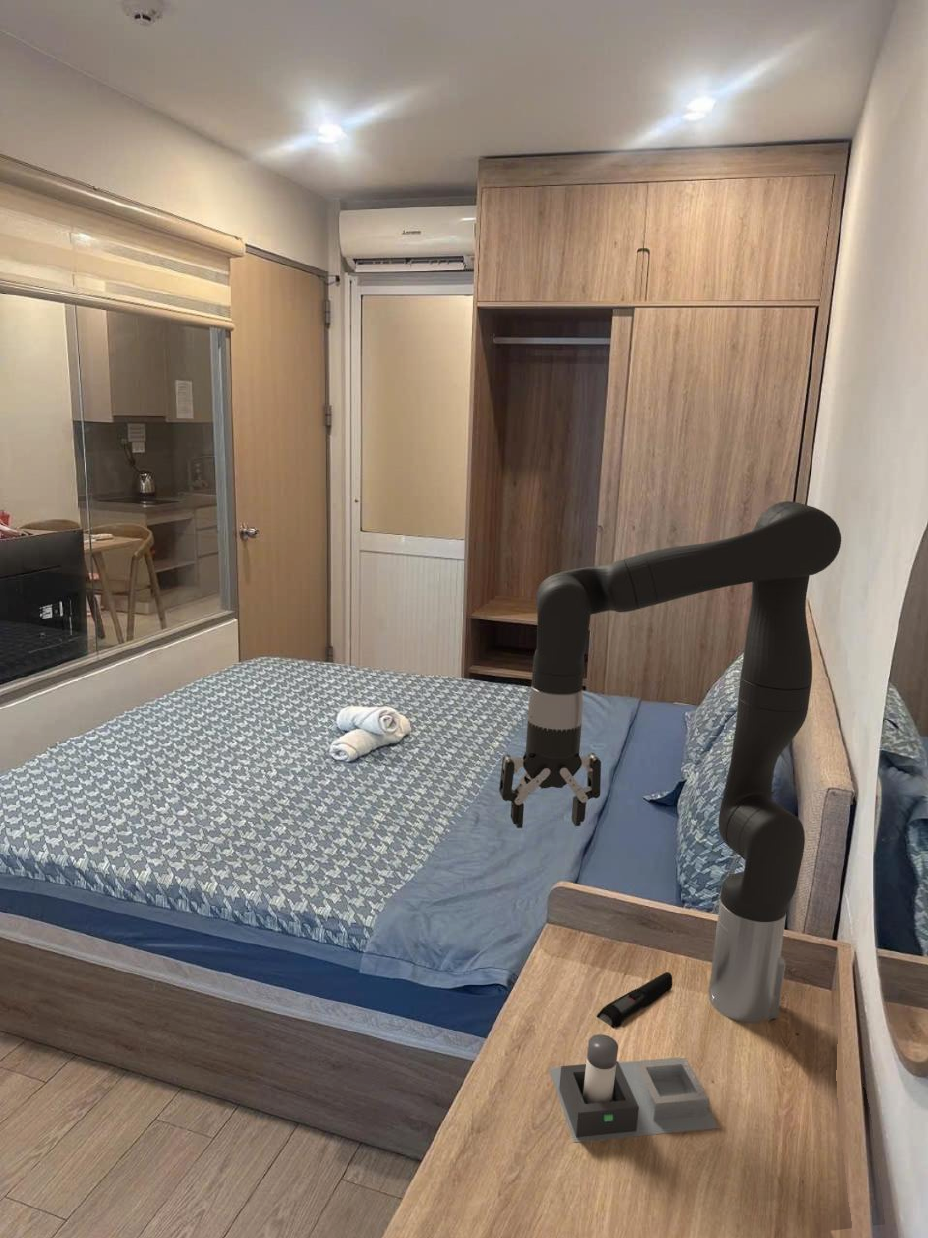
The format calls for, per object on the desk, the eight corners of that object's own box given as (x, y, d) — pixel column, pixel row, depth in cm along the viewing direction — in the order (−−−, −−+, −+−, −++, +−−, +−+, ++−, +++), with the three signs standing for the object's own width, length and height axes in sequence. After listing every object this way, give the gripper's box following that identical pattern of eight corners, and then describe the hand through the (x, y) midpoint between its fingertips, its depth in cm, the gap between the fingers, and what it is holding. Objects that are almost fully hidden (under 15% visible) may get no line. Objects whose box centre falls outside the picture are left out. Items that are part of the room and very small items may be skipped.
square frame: (684, 1074, 114) (685, 1058, 114) (706, 1115, 108) (708, 1098, 107) (633, 1078, 113) (635, 1062, 113) (653, 1120, 107) (655, 1103, 106)
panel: (679, 1063, 118) (679, 1057, 117) (718, 1134, 106) (719, 1128, 106) (548, 1075, 115) (548, 1068, 114) (573, 1149, 103) (574, 1142, 103)
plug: (605, 1097, 110) (612, 1033, 108) (614, 1120, 106) (622, 1054, 104) (578, 1099, 109) (584, 1035, 107) (586, 1122, 106) (593, 1056, 104)
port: (615, 1084, 112) (617, 1061, 111) (637, 1133, 105) (639, 1109, 104) (559, 1089, 111) (561, 1066, 110) (576, 1139, 103) (578, 1115, 103)
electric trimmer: (678, 996, 132) (680, 978, 132) (612, 1038, 122) (614, 1018, 122) (658, 983, 135) (660, 965, 134) (592, 1024, 125) (594, 1004, 124)
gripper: (510, 728, 115) (504, 839, 119) (612, 726, 118) (603, 835, 121) (499, 709, 123) (493, 814, 126) (595, 708, 125) (587, 811, 129)
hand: (547, 824), depth 124 cm, fingers open, 8 cm apart
